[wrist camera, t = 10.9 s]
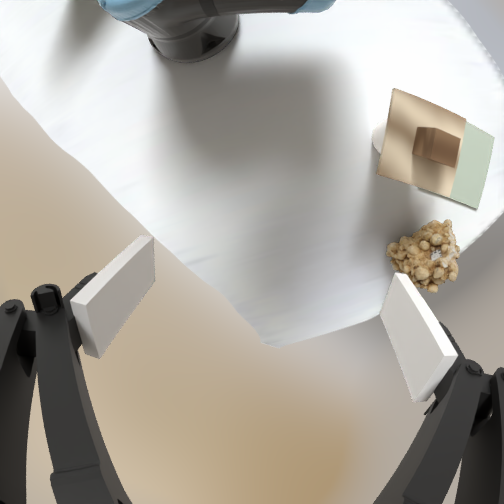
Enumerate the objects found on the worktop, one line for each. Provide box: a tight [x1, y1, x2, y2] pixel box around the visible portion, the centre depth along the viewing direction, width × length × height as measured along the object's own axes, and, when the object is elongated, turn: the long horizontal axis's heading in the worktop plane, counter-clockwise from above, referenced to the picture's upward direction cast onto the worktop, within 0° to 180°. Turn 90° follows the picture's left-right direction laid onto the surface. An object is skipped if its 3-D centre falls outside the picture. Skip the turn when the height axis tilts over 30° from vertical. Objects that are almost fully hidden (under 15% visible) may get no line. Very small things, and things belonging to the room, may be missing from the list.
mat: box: [419, 122, 494, 209], centre depth 40 cm, size 15×15×1 cm
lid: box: [376, 88, 466, 197], centre depth 27 cm, size 11×11×6 cm
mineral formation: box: [386, 219, 460, 293], centre depth 41 cm, size 8×13×15 cm, turn 132°
